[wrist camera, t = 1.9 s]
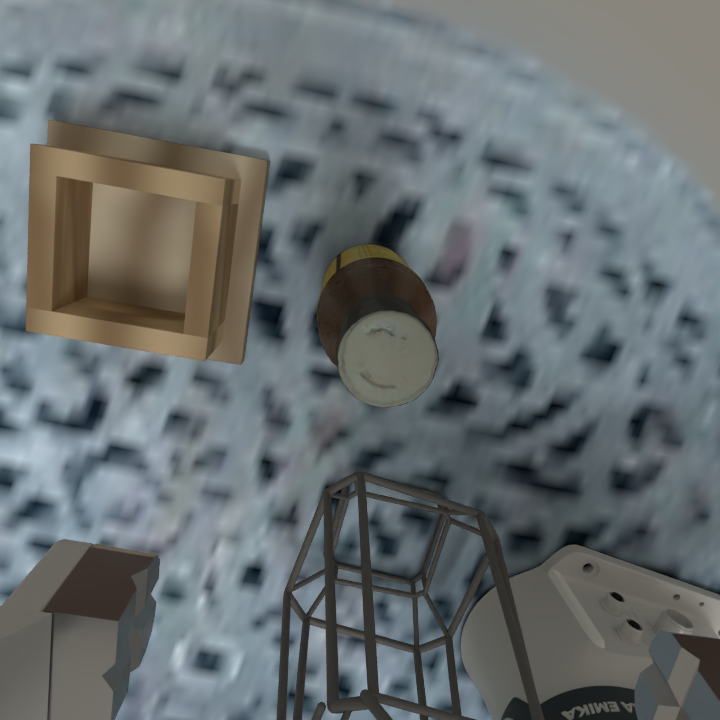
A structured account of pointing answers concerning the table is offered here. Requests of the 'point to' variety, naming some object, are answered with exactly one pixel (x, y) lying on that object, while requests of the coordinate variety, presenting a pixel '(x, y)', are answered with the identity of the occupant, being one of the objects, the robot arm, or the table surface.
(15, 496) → the table surface
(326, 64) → the table surface
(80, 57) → the table surface
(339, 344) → the sauce bottle
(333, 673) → the geometric lantern
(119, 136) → the square wooden tray
